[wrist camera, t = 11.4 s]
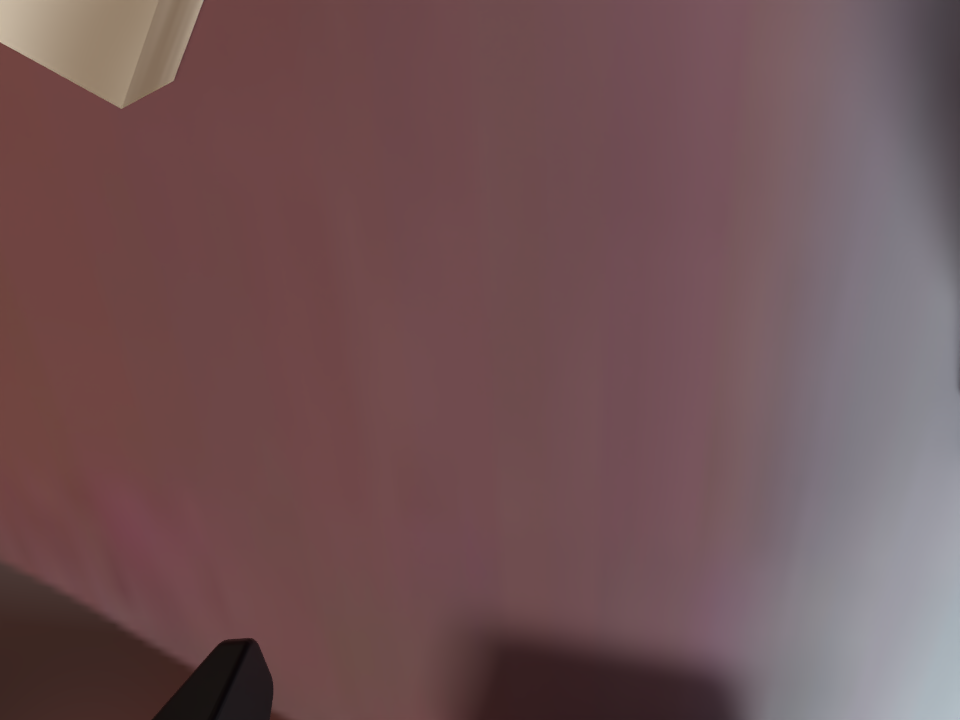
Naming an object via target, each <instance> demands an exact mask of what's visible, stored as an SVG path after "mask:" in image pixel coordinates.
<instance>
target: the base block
mask: <svg viewBox="0 0 960 720" xmlns="http://www.w3.org/2000/svg"><path fill="white" fill-rule="evenodd" d="M202 3H203V0H0V42H1V43H3V44H5V45H6V46H8V47H10V48H12V49H14V50H16V51H17V52H19V53H21V54H23V55H25V56H26V57H28V58H30V59H32V60H34V61H36V62H37V63H39V64H41V65H43V66H45V67H46V68H48V69H50V70H52V71H54V72H56V73H57V74H59V75H61V76H63V77H65V78H66V79H68V80H70V81H72V82H74V83H76V84H77V85H79V86H81V87H83V88H85V89H86V90H88V91H90V92H92V93H94V94H95V95H97V96H99V97H101V98H103V99H105V100H106V101H108V102H110V103H112V104H114V105H115V106H117V107H119V108H121V109H122V108H124V107H126V106H128V105H129V104H131V103H133V102H135V101H137V100H139V99H141V98H143V97H144V96H146V95H148V94H150V93H152V92H154V91H156V90H157V89H159V88H161V87H163V86H165V85H167V84H169V83H171V82H172V81H174V78H175V75H176V73H177V70H178V67H179V65H180V62H181V59H182V57H183V54H184V51H185V49H186V46H187V43H188V41H189V38H190V35H191V33H192V30H193V27H194V25H195V22H196V19H197V17H198V14H199V11H200V9H201V6H202Z"/></svg>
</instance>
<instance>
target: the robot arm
mask: <svg viewBox="0 0 960 720" xmlns="http://www.w3.org/2000/svg"><path fill="white" fill-rule="evenodd" d="M272 700H273V681H272V677H271V674H270V671H269V669H268V666H267V664H266V662H265V659H264V657H263V654H262V652H261V650H260V647H259V645H258V643H257V642H256V641H255V640H254V639H252V638H242V639H228V640H224V641H222V642H221V643H220V644H218V645H217V646H216V647H215V648H214V650H213V651H212V652H211V653H210V654H209V655H208V656H207V658H206V659H205V660H204V661H203V662H202V663H201V664H200V665H199V667H198V668H197V669H196V670H195V671H194V672H193V673H192V675H191V676H190V677H189V678H188V679H187V680H186V681H185V683H184V684H183V685H182V686H181V687H180V688H179V689H178V690H177V692H176V693H175V694H174V695H173V696H172V697H171V698H170V700H169V701H168V702H167V703H166V704H165V705H164V706H163V707H162V709H161V710H160V711H159V712H158V713H157V714H156V715H155V716H154V718H153V719H152V720H270V714H271V707H272Z"/></svg>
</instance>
